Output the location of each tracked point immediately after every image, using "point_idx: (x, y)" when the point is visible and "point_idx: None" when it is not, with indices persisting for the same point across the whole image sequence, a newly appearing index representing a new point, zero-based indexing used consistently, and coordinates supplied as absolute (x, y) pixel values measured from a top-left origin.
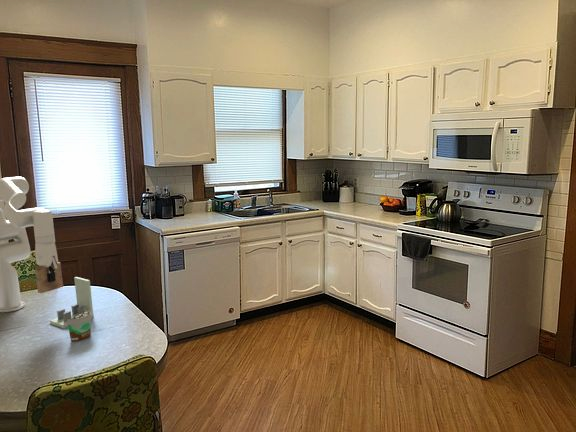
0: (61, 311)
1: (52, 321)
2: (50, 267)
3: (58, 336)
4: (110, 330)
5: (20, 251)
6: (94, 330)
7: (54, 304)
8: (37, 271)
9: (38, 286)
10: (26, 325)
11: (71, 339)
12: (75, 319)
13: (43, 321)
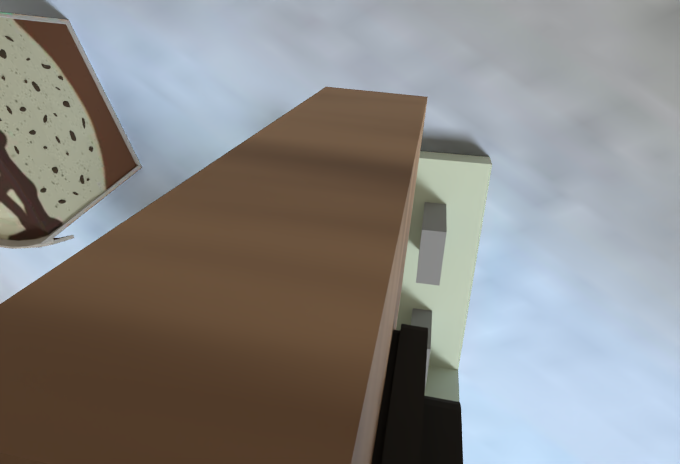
0: (419, 250)
1: (454, 160)
2: None
3: (217, 31)
4: (49, 249)
5: None
6: (118, 211)
7: None
8: (130, 288)
9: (363, 116)
10: (664, 34)
11: (51, 21)
12: None
13: (584, 160)
